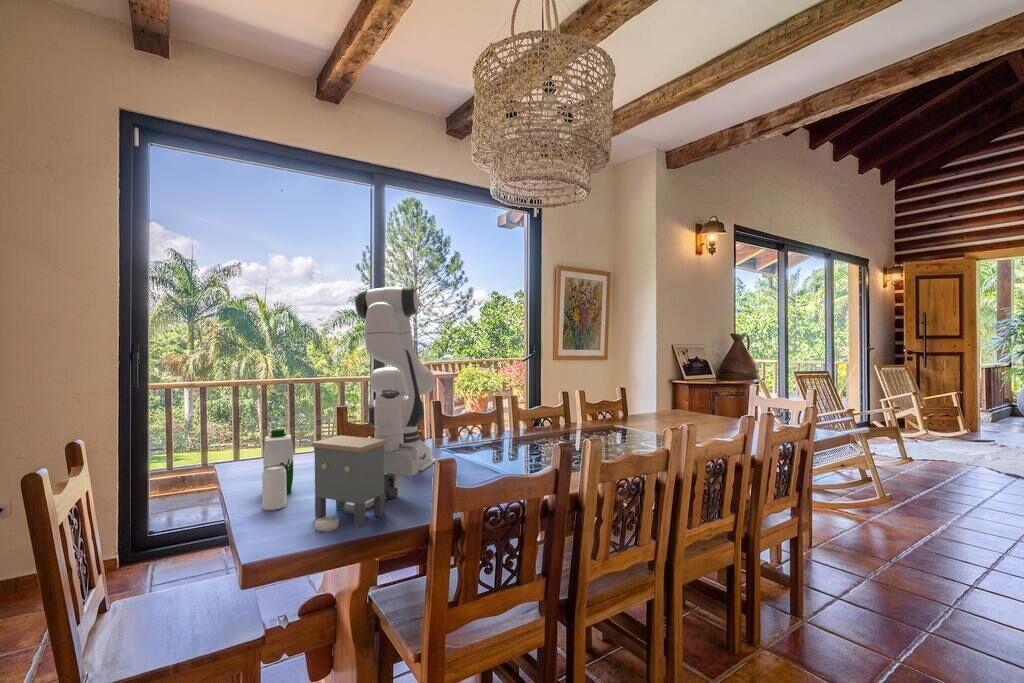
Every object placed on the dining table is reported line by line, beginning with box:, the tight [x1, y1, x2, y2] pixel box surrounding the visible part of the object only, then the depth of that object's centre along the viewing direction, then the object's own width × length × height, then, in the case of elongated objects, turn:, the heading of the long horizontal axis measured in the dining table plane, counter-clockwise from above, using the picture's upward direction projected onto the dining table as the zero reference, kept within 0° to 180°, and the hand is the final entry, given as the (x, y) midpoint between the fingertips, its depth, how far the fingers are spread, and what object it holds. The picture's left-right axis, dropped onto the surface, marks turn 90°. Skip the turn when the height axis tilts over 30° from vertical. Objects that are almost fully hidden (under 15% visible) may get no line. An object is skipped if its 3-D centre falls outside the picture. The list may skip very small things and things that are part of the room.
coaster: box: [314, 516, 340, 532], centre depth 133 cm, size 6×6×2 cm
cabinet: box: [311, 434, 387, 527], centre depth 141 cm, size 11×17×21 cm, turn 66°
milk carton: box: [262, 428, 294, 495], centre depth 164 cm, size 9×9×20 cm
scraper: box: [344, 473, 399, 514], centre depth 152 cm, size 18×7×7 cm, turn 155°
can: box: [261, 465, 288, 511], centre depth 149 cm, size 6×6×12 cm
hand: (389, 486), depth 158 cm, fingers closed on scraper, 3 cm apart
